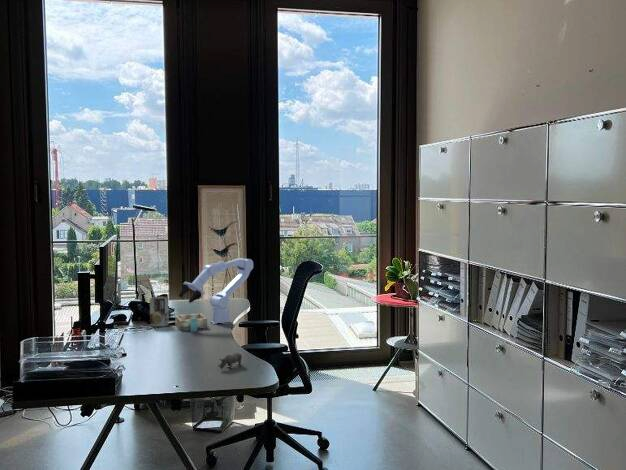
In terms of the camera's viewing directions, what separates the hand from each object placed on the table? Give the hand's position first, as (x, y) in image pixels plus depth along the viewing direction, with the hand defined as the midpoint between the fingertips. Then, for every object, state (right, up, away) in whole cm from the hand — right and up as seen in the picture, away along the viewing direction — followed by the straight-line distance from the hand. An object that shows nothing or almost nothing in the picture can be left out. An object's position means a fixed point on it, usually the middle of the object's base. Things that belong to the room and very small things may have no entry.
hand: (184, 299), depth 326 cm
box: (+2, -16, +6) cm, 18 cm away
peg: (+6, -17, -5) cm, 19 cm away
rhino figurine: (+35, -22, -72) cm, 83 cm away
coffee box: (-16, -16, +9) cm, 25 cm away
